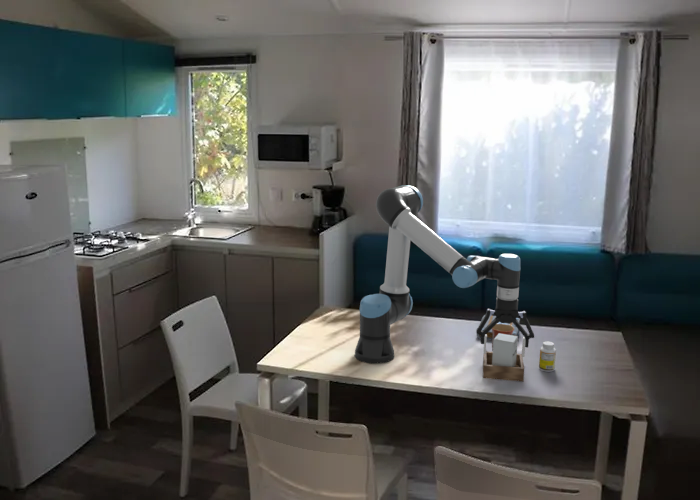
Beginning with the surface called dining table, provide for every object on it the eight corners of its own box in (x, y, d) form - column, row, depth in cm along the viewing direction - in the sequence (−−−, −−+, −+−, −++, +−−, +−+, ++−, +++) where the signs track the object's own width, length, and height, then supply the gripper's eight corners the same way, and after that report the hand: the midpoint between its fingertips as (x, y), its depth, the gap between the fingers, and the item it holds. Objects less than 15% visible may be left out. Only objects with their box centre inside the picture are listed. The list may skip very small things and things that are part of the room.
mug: (489, 347, 265) (491, 323, 262) (512, 349, 263) (513, 324, 261) (489, 358, 253) (491, 333, 251) (513, 360, 252) (515, 335, 249)
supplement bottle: (543, 365, 248) (545, 339, 245) (557, 369, 244) (559, 343, 241) (535, 369, 244) (537, 343, 242) (549, 373, 240) (551, 347, 238)
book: (482, 323, 294) (482, 312, 293) (520, 327, 289) (521, 316, 288) (476, 339, 275) (477, 328, 273) (517, 344, 270) (518, 332, 269)
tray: (483, 378, 236) (483, 365, 235) (482, 363, 249) (483, 351, 248) (523, 381, 233) (524, 368, 232) (521, 366, 246) (522, 354, 245)
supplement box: (511, 375, 236) (513, 342, 233) (490, 371, 239) (492, 338, 236) (516, 368, 242) (518, 336, 239) (496, 364, 246) (498, 332, 243)
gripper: (471, 298, 233) (468, 354, 238) (544, 303, 229) (540, 360, 234) (471, 292, 241) (468, 347, 245) (542, 296, 236) (538, 352, 241)
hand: (503, 354), depth 239 cm, fingers open, 13 cm apart
